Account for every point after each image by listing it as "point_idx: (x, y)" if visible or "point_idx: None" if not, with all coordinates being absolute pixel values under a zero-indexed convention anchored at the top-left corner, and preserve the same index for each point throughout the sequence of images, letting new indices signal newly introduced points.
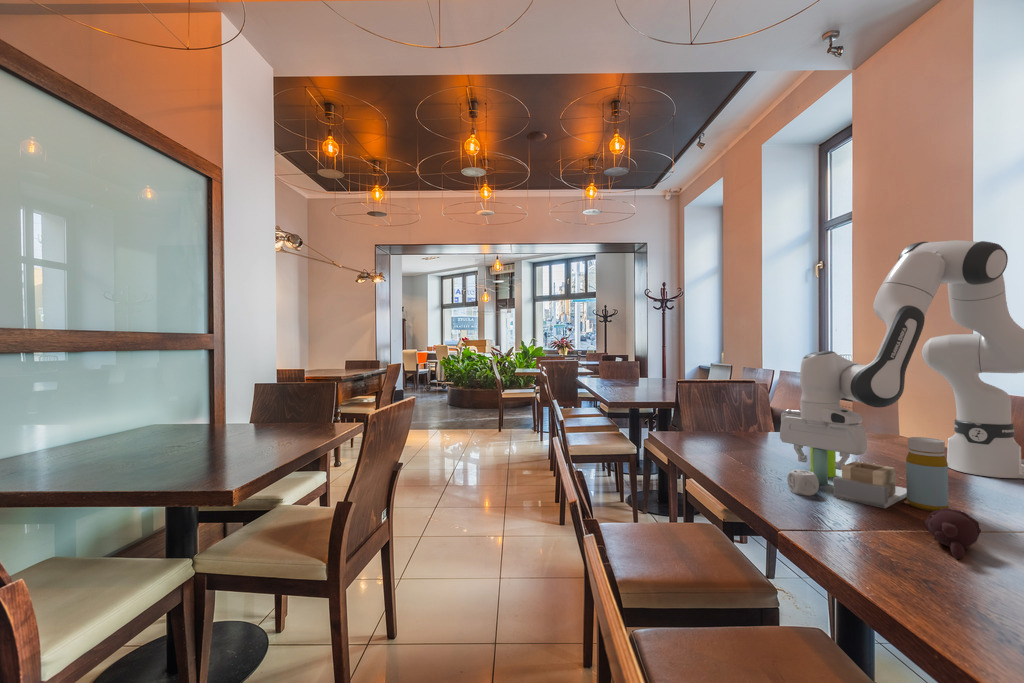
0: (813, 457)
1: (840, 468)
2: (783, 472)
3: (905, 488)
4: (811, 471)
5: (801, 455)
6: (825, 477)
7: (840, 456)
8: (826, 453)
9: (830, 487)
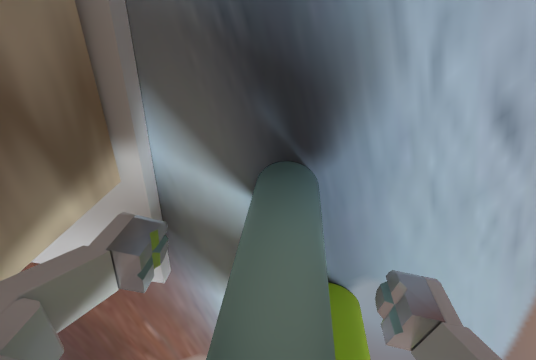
0: (322, 299)
1: (122, 216)
2: (475, 258)
3: (36, 259)
4: (356, 305)
5: (432, 326)
6: (254, 195)
7: (31, 299)
8: (207, 355)
9: (226, 141)
